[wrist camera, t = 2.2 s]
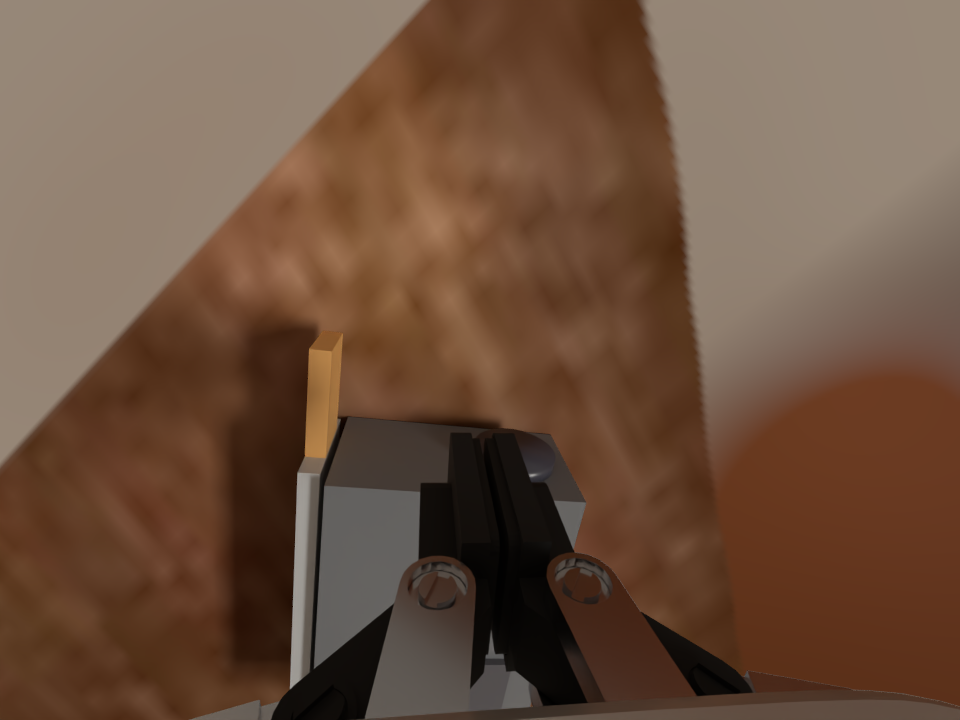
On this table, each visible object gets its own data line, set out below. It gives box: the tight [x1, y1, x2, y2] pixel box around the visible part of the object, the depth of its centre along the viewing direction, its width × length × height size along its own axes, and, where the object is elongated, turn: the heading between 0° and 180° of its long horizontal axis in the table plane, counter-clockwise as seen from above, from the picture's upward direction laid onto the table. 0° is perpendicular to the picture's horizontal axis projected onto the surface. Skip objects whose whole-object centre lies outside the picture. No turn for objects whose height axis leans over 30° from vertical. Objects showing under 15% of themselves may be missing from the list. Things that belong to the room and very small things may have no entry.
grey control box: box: [314, 417, 586, 711], centre depth 22 cm, size 17×10×6 cm, turn 171°
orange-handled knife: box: [290, 331, 343, 689], centre depth 21 cm, size 20×1×4 cm, turn 171°
